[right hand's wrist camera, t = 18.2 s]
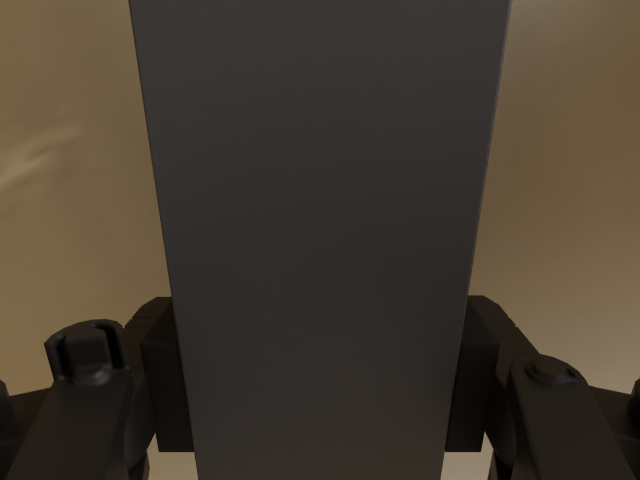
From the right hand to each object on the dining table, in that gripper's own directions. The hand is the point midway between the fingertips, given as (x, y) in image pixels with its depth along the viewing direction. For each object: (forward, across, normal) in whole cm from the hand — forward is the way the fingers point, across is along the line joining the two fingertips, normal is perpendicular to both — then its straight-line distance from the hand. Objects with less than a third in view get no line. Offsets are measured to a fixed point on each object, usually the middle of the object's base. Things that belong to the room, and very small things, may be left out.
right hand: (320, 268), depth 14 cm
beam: (+1, 0, -26) cm, 26 cm away
